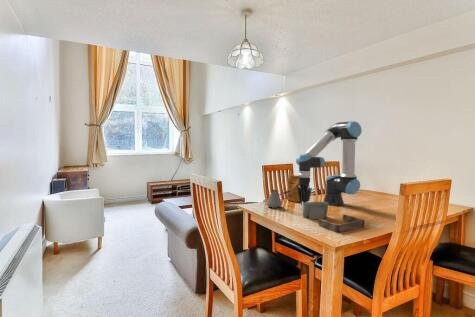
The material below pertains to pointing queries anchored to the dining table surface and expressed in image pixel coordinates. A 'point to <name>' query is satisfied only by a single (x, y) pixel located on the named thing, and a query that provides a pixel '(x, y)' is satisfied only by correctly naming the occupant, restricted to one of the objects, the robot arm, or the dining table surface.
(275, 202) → the coffee pot
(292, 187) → the coffee package
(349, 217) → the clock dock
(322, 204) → the digital clock
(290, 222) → the dining table surface
